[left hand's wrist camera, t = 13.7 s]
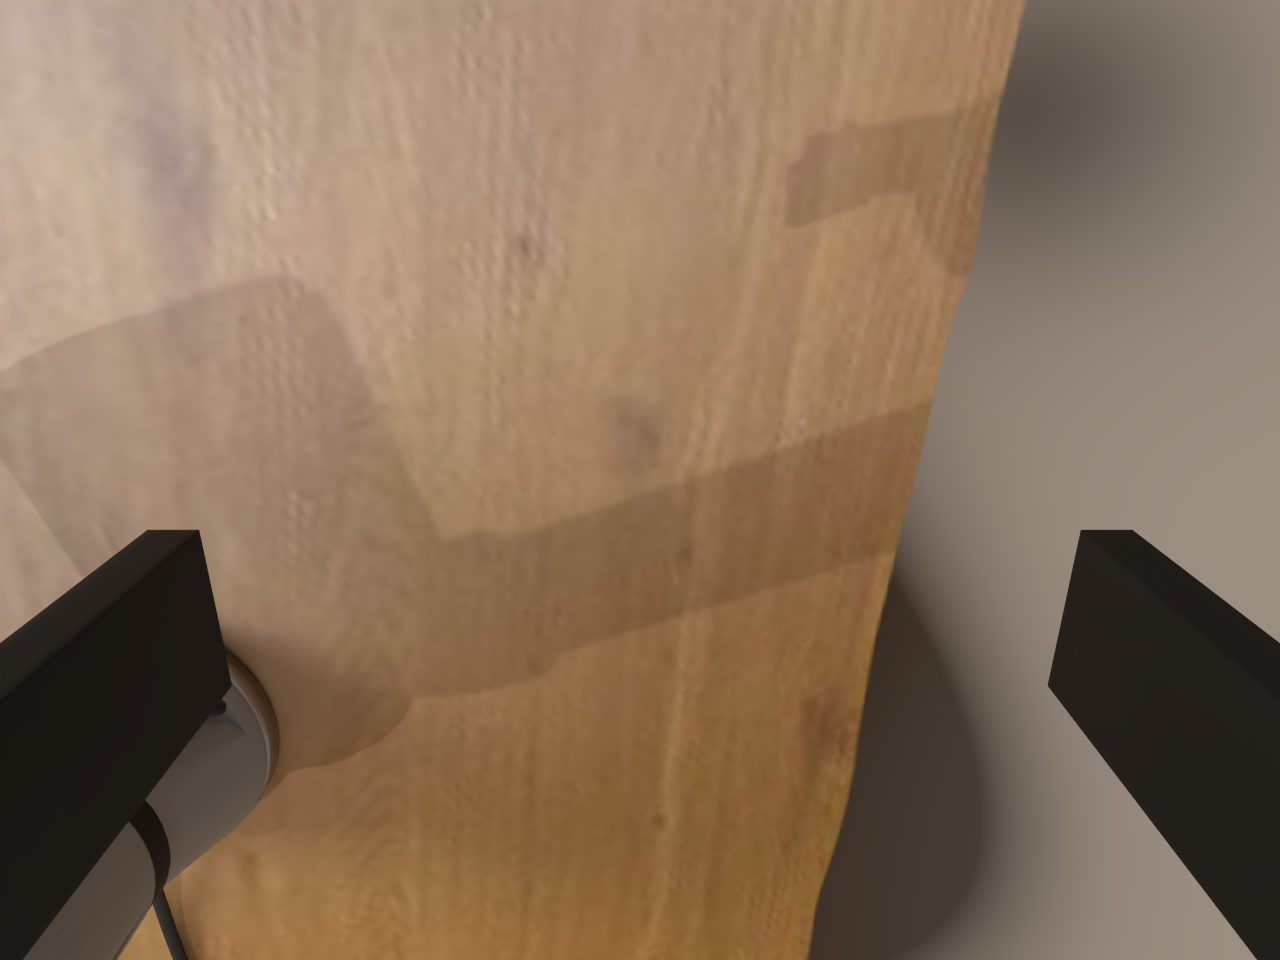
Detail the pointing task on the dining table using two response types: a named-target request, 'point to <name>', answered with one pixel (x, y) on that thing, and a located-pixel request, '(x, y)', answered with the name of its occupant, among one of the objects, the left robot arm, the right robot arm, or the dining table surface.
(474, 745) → the dining table surface
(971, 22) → the dining table surface
